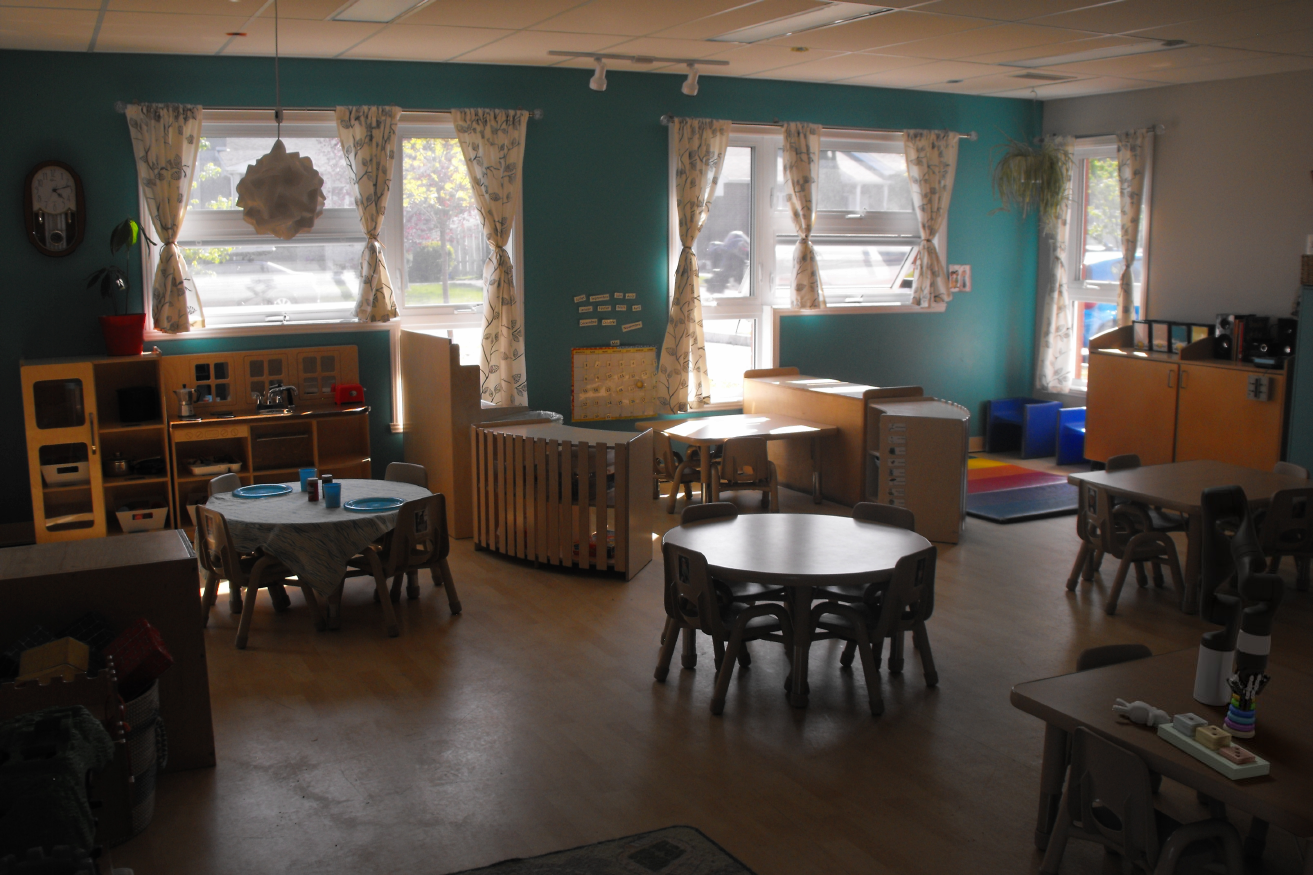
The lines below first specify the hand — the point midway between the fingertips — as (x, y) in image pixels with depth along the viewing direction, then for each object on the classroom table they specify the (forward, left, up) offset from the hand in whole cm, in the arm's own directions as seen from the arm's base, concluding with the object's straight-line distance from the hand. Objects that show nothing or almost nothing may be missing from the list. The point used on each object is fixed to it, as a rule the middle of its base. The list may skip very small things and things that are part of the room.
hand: (1244, 710), depth 279 cm
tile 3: (0, 0, -16) cm, 16 cm away
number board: (0, -8, -16) cm, 18 cm away
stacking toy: (-18, -16, -17) cm, 29 cm away
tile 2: (0, -8, -14) cm, 16 cm away
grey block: (0, -16, -14) cm, 21 cm away
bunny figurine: (+4, -30, -17) cm, 34 cm away
